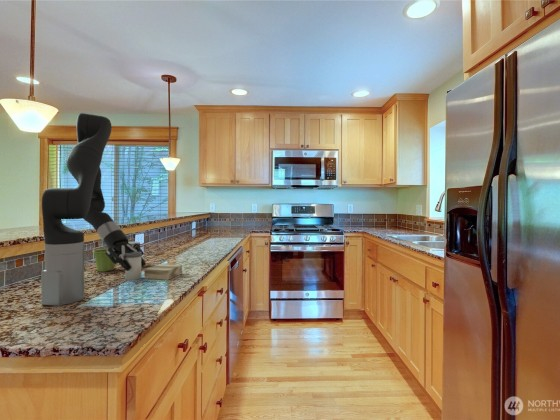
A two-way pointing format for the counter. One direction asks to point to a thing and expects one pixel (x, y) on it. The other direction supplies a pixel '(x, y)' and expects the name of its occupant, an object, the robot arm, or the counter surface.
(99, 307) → the counter surface
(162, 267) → the maple base
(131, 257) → the spice jar
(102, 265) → the plant pot
